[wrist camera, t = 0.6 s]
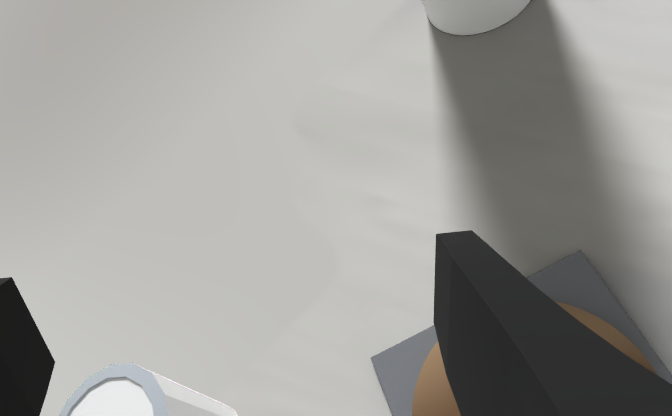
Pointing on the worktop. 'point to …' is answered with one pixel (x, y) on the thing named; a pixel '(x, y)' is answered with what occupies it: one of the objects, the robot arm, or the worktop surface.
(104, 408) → the white cup
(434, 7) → the cylindrical container
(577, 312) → the walnut lid
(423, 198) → the worktop surface
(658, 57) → the worktop surface
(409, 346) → the rubber mat
